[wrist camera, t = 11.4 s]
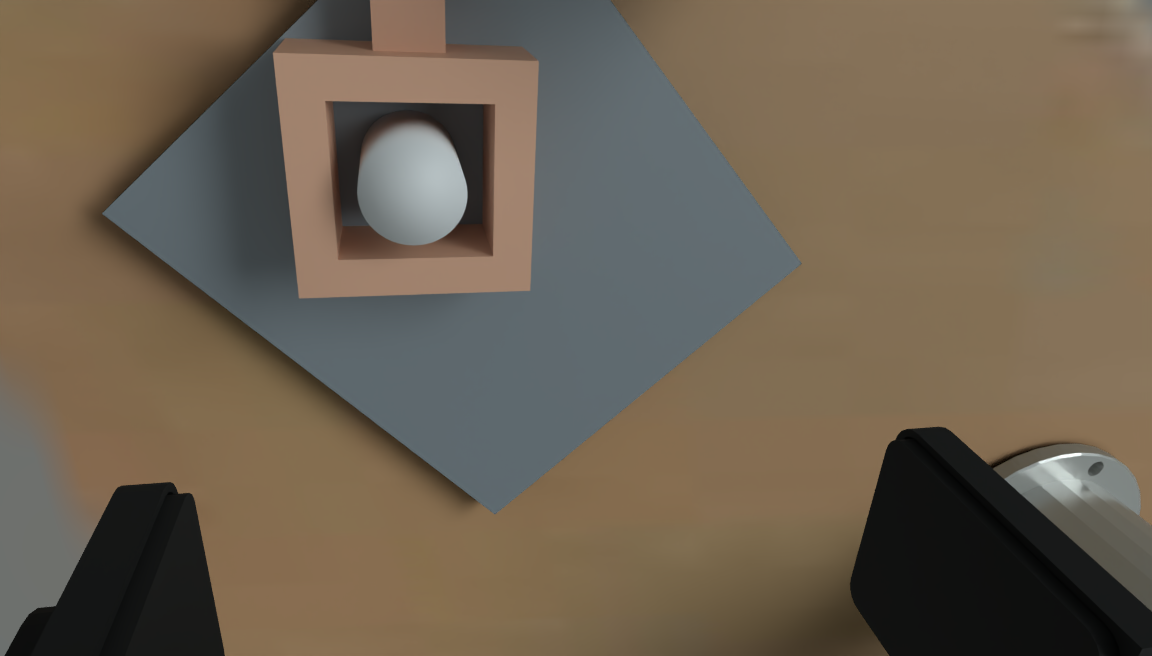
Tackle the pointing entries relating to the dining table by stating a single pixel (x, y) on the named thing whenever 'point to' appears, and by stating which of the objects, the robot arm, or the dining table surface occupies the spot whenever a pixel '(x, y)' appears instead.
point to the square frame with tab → (410, 75)
